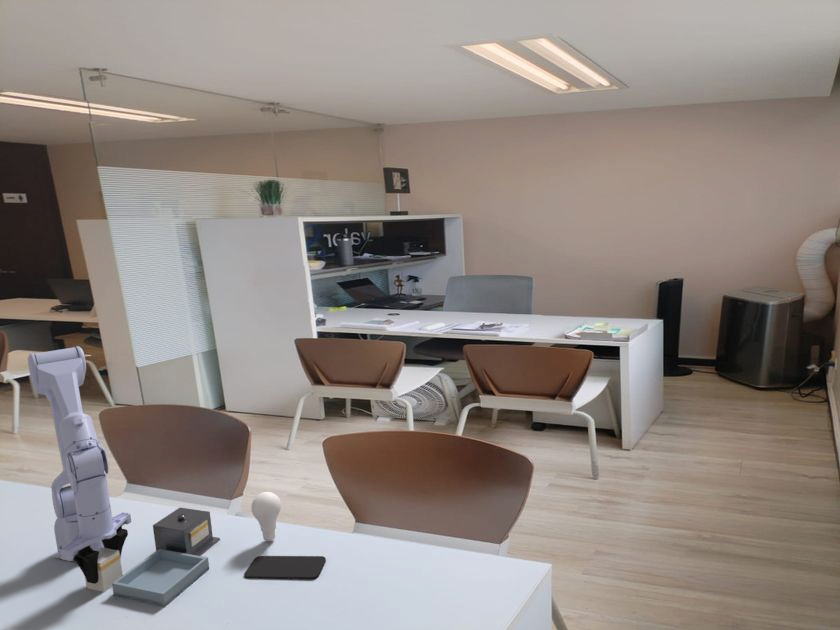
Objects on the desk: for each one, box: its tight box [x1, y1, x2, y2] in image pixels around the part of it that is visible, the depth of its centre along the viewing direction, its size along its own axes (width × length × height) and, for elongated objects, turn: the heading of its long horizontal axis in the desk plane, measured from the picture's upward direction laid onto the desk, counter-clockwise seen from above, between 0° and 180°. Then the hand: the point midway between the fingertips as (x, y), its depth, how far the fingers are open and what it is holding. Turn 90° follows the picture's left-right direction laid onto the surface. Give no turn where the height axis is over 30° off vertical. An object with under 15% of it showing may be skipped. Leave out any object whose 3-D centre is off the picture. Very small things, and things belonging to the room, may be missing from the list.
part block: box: [84, 547, 124, 593], centre depth 119 cm, size 5×5×6 cm
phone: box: [243, 555, 327, 581], centre depth 121 cm, size 7×1×15 cm
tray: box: [111, 549, 210, 607], centre depth 119 cm, size 12×12×2 cm
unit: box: [150, 507, 221, 556], centre depth 130 cm, size 10×10×8 cm
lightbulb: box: [251, 491, 282, 542], centre depth 131 cm, size 6×6×11 cm
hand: (103, 574), depth 119 cm, fingers closed on part block, 4 cm apart
